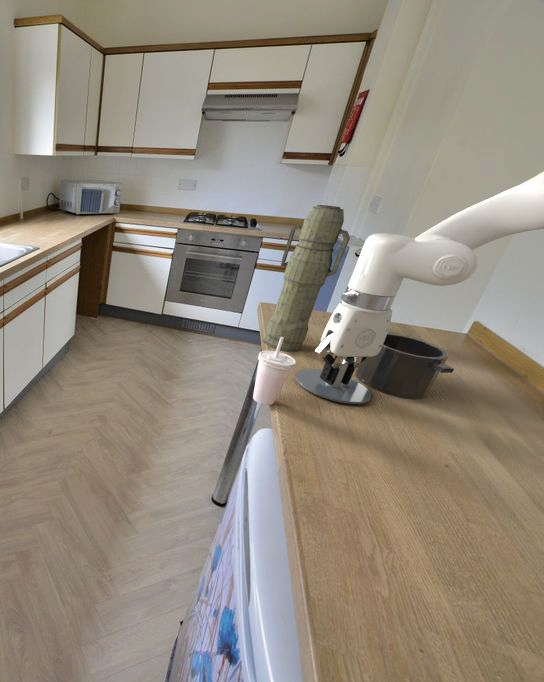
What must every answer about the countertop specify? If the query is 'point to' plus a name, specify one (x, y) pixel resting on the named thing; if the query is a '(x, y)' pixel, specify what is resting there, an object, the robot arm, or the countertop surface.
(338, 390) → the lid
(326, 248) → the thermos
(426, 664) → the countertop surface
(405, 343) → the pot
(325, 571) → the countertop surface
